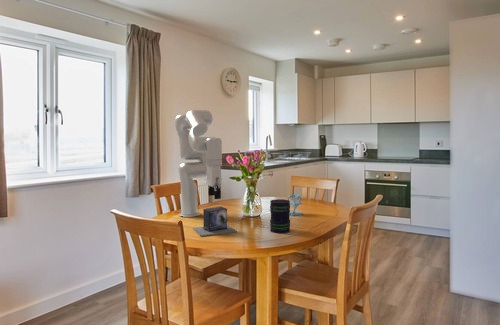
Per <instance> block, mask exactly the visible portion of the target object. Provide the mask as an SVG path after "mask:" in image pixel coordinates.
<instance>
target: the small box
mask: <svg viewBox="0 0 500 325" xmlns="http://www.w3.org/2000/svg"><path fill="white" fill-rule="evenodd" d="M202 210H203V226H202V227H203V229H204V230H206V231H209V232H210V231H216V230H222V229H227V225H228V208H226V207H223V206H214V207H207V208H206V207H205V208H203V209H202Z"/></svg>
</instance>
